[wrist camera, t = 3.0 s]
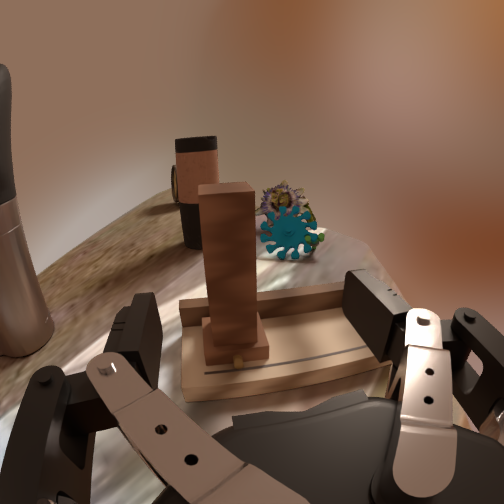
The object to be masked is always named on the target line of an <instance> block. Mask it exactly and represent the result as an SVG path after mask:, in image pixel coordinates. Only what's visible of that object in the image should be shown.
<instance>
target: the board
mask: <svg viewBox="0 0 504 504" xmlns="http://www.w3.org/2000/svg"><path fill="white" fill-rule="evenodd" d="M344 282H345V281H343V282H336V283H329V284H322V285H314V286H306V287H299V288H291V289H282V290H274V291H265V292H257V312H258V313H259V316H260V319H261V322H262V325H263V328H264V331H265V334H266V337H267V340H268V343H269V359H263V360H256V361H248V362H243V364H244V367H243V368H241V369H236V368H235V367H234V363H232V364H223V365H213V366H206V362H205V356H204V346H203V329H202V318H205V317H210V312H209V304H208V297H207V298H197V299H185V300H179V312H180V317H181V322H182V368H181V388H182V392H183V395H184V399H185V402H196V401H208V400H219V399H228V398H237V397H245V396H252V395H259V394H265V393H271V392H277V391H283V390H289V389H294V388H299V387H304V386H309V385H314V384H318V383H323V382H327V381H331V380H335V379H339V378H343V377H347V376H351V375H355V374H358V373H362V372H366V371H369V370H372V369H376V368H379V367H382V366H386V365H389V364H392V361H391V360H389V361H386V362H383V363H379V362H378V360H377V359H376V357H375V356H374V355H373V353H372V352H371V351H370V349H369V348H368V346H367V345H366V344H365V342H364V341H363V340H362V338H361V337H360V336H359V334H358V333H357V332H356V330H355V329H354V328H353V326H352V325H351V324H350V322H349V321H348V320H347V318H346V317H345V315H344V313H343V310H342V298H343V290H344Z"/></svg>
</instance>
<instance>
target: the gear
mask: <svg viewBox="0 0 504 504" xmlns="http://www.w3.org/2000/svg"><path fill="white" fill-rule="evenodd" d="M279 211H280V214H281V215H280V218H279V220H275V213H274V212H270V213H268V214H267V215H268V218H269V219H270V220H271V221H272V222H273V224H274V226H273V227H272V228H270V227H268V224H267V222H265V221H264V222H263V223H262V224H261V226H260V227H261V229H262V230H267V231H269V232H271V233H272V236H271V237H268V236H267V235H266V234H261V237H260V239H261V242H266V241H274V242H276V244H275V245H270V244H269V245H267V246H266V249H267V251H268V253H269V254H270V253H272V252H273V251H274V250H275V249H277V248H279V247H284V248H285V249H284V250H283V251H279V252H278V253H277V256H278V258H280V259H282V260H284V259H285V255H286V252H287V251H288V250H289V249H290V248H294V249H295V250H294V251H293V252H292V254H291V257H292V259H299V253H298V246H299V244H304V252H305V253H308V252H310V251H311V249H316V246H318V244H319V241H320V242H323V241H324V234H323V233H320V234H319V235H317V234H314V233H310V232H308V231H307V230H306V229H305V228H306V227H310V228H311V229H312V230H316V229H317V222H316V221H313V222H310V223H304V222H302V221H301V220H302V219H306V220H309V219H310V218H311V215H310V213H309V212H308V211H305V212H304V213H303V214H302V215H301V216H298V217H294V216H293V215H294V214H298V213H299V212H300V208H299V207H297V206H295V205H294V206H293V207H292V211H291V213H290V214H289V215H288V216H283V215H284V214H285V213H286V212H287V209H286V207H285V206H280V207H279ZM311 246H312V248H311Z"/></svg>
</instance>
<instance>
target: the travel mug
mask: <svg viewBox="0 0 504 504" xmlns="http://www.w3.org/2000/svg"><path fill="white" fill-rule="evenodd" d="M175 150H176V169H177V184H178V197H179V206H180V214H181V221H182V229H183V236H184V242H185V245H186V246H187V247H188V248H191V249H203V247H202V236H201V224H200V212H199V199H198V185H204V184H218V183H219V172H218V171H219V170H218V152H217V137H216V136H205V137H191V138H181V139H175Z"/></svg>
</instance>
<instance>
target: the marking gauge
mask: <svg viewBox="0 0 504 504" xmlns="http://www.w3.org/2000/svg"><path fill="white" fill-rule="evenodd" d="M198 199H199V212H200V224H201V236H202V247H203V257H204V267H205V277H206V286H207V295H208V304H209V312H210V317H205V318H202V329H203V346H204V356H205V362H206V366H213V365H223V364H232V363H234V367H235V368H236V369H241V368H243V367H244V364H243V362H248V361H256V360H263V359H269V343H268V340H267V337H266V334H265V331H264V328H263V325H262V322H261V319H260V316H259V313H258V312H257V279H256V224H255V191H254V190H253V189H252V187H251V186H250V185H249V184H248V183H247V182H233V183H218V184H204V185H198Z"/></svg>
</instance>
